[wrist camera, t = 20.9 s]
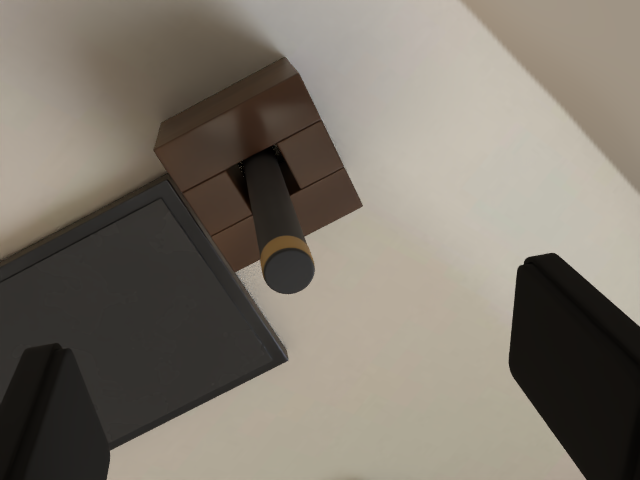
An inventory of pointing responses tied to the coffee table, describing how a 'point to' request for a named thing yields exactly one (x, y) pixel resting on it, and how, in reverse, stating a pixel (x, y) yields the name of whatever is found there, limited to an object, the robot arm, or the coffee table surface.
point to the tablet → (137, 311)
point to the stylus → (277, 226)
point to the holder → (243, 142)
